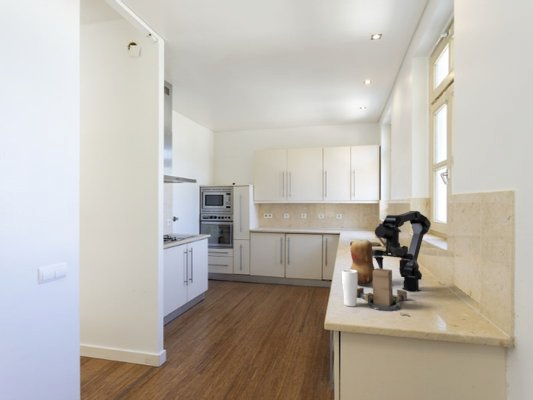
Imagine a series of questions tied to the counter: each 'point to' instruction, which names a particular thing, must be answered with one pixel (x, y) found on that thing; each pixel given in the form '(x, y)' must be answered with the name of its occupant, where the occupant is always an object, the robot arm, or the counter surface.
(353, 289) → the drinking glass
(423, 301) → the counter surface
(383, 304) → the coupling post
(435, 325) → the counter surface
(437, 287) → the counter surface
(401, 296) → the shaft
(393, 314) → the counter surface
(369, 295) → the shaft
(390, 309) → the dark grey shallow bowl
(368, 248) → the butternut squash
